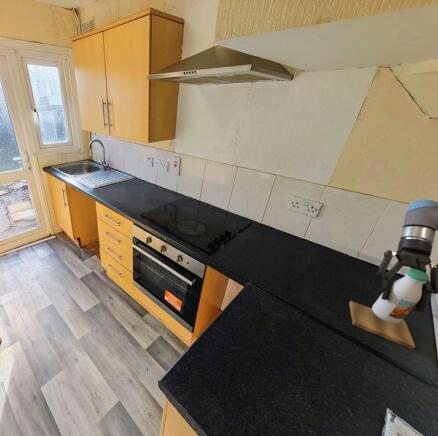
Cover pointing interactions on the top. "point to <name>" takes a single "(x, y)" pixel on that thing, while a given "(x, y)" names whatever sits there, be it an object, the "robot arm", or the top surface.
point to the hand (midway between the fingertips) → (401, 304)
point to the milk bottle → (401, 297)
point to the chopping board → (380, 325)
